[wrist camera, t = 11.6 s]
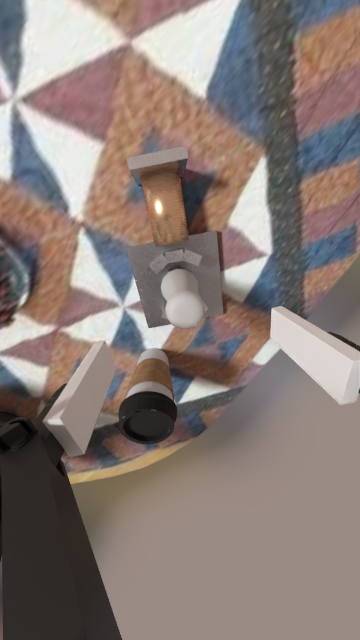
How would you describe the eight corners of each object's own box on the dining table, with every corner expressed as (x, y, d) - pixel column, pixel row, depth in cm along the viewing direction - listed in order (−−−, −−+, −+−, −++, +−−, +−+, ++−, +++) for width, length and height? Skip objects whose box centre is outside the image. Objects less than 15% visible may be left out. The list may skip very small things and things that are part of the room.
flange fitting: (149, 325, 34) (145, 343, 28) (108, 181, 25) (91, 165, 19) (221, 312, 34) (233, 327, 28) (209, 161, 25) (222, 138, 19)
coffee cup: (168, 338, 36) (169, 401, 22) (178, 370, 39) (184, 441, 26) (127, 348, 36) (103, 415, 22) (141, 379, 40) (127, 454, 26)
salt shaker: (189, 304, 32) (202, 343, 20) (157, 295, 31) (152, 331, 19) (200, 272, 30) (222, 295, 18) (166, 261, 29) (167, 278, 17)
